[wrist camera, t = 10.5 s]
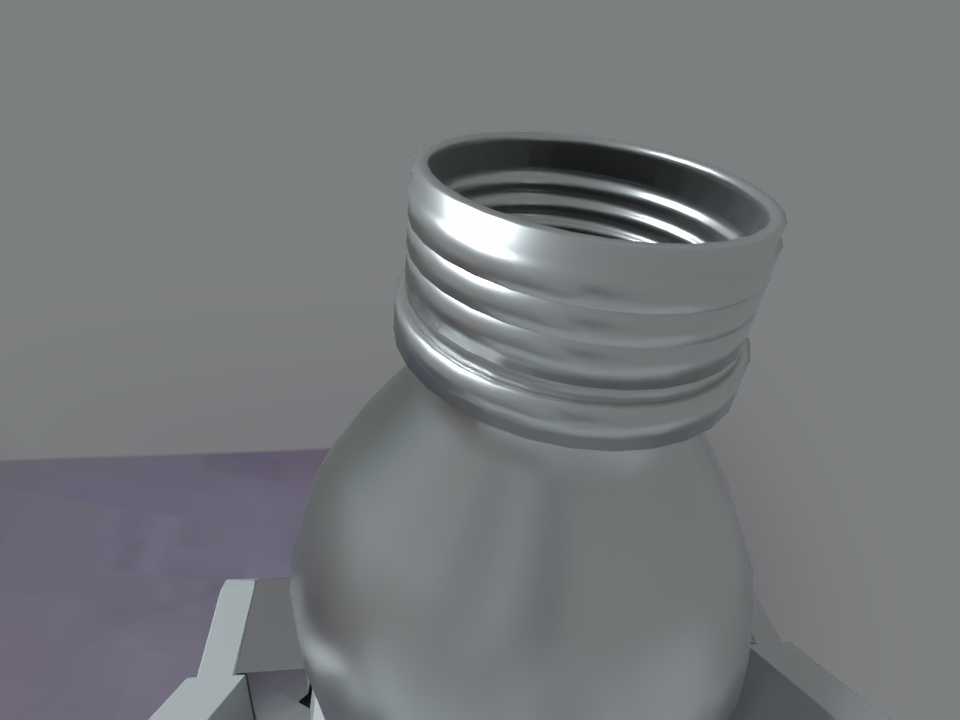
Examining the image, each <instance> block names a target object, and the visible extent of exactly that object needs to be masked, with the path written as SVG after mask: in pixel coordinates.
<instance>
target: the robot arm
mask: <svg viewBox="0 0 960 720" xmlns="http://www.w3.org/2000/svg"><path fill="white" fill-rule="evenodd" d="M753 597H754V609H753V620H752V631H751V642H750V654H749V661H748V665H747V669H746V674H745V678H744V682H743V686H742V690H741V694H740V698H739V702H738V704H737V705H736V707H735V709H734V711H733V712H732V714H731V716H730V718H729V720H890V719H889V718H887V717H886V716H885V715H883V714H882V713H881V712H880V711H878V710H877V709H876V708H874V707H873V706H872V705H871V704H869V703H868V702H867V701H865V700H864V699H863V698H861V697H860V696H859V695H858V694H857V693H855V692H854V691H853V690H851V689H850V688H849V687H847V686H846V685H845V684H843V683H842V682H841V681H840V680H839V679H837V678H836V677H835V676H834V675H832V674H831V673H830V672H828V671H827V670H826V669H824V668H823V667H822V666H821V665H819V664H818V663H817V662H816V661H814V660H813V659H812V658H810V657H809V656H807V654H805V653H804V652H803V651H802V650H800V649H799V648H798V647H796V646H795V645H794V644H792V643H791V642H783V641H782V640H781V638H780V636H779V634H778V633H777V631H776V629H775V628H774V626H773V624H772V622H771V620H770V619H769V617H768V616H767V614H766V612H765V610H764V609H763V607H762V605H761V603H760V601H759V600H758V598H757V596H756V594H755V593H754V591H753ZM315 697H316V696H315V693H314V691H313V688H312V686H311V684H310V681H309V679H308V676H307V674H306V671H305V666H304V661H303V656H302V651H301V647H300V643H299V640H298V636H297V630H296V624H295V619H294V613H293V607H292V601H291V595H290V578H273V579H231V580H226V581H225V583H224V585H223V587H222V589H221V591H220V595H219V598H218V602H217V606H216V609H215V613H214V617H213V620H212V624H211V628H210V631H209V635H208V639H207V642H206V646H205V650H204V653H203V657H202V661H201V664H200V668H199V672H198V675H197V677H192V678H187V679H186V680H185V681H184V682H183V683H182V684H181V685H180V686H179V687H178V688H177V689H176V691H175V692H174V693H173V694H172V695H171V696H170V697H169V698H168V699H167V700H166V701H165V702H164V703H163V705H162V706H161V707H160V708H159V709H158V710H157V711H156V712H155V713H154V714H153V715H152V716H151V717H150V719H149V720H313V715H314V706H315Z"/></svg>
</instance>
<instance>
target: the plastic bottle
mask: <svg viewBox="0 0 960 720" xmlns="http://www.w3.org/2000/svg"><path fill="white" fill-rule="evenodd" d="M786 224H787V220H786V214H785V211H784V209H783V208H782V207H781V206H780V205H779V203H778V202H777V201H776V200H775V199H774V198H773V197H771V196H770V195H769V194H767V193H766V192H765V191H763V190H762V189H761V188H759V187H757V186H755V185H753V184H752V183H750V182H748V181H746V180H744V179H742V178H740V177H738V176H736V175H733V174H731V173H729V172H727V171H724V170H722V169H719V168H717V167H714V166H711V165H708V164H706V163H703V162H700V161H697V160H694V159H691V158H688V157H684V156H681V155H677V154H674V153H671V152H667V151H663V150H659V149H655V148H651V147H647V146H642V145H638V144H633V143H628V142H623V141H618V140H612V139H607V138H600V137H594V136H587V135H580V134H570V133H561V132H550V131H533V130H489V131H475V132H467V133H459V134H454V135H450V136H446V137H442V138H438V139H436V140H434V141H431V142H429V143H427V144H425V145H424V146H423V147H421V148H420V149H419V150H418V151H417V152H416V154H415V158H414V161H413V172H412V173H411V176H410V180H409V183H408V214H407V239H406V264H405V269H404V270H403V272H402V273H401V275H400V276H399V278H398V282H397V286H396V290H395V304H394V333H395V339H396V345H397V348H398V350H399V352H400V354H401V356H402V357H403V359H404V361H405V363H406V365H404V366H403V367H402V368H401V369H400V370H399V371H398V372H397V373H396V374H395V375H394V376H393V377H392V378H391V379H390V380H388V381H387V382H386V383H385V384H384V385H383V386H382V387H381V388H380V389H379V390H378V392H377V393H376V394H375V395H374V396H373V397H372V398H371V399H370V400H369V401H368V402H367V403H366V405H365V406H364V407H363V408H362V409H361V411H360V412H359V413H358V414H357V416H356V417H355V418H354V419H353V421H352V422H351V423H350V424H349V426H348V427H347V428H346V429H345V430H344V432H343V433H342V434H341V436H340V437H339V438H338V439H337V440H336V442H335V443H334V444H333V446H332V448H331V449H330V451H329V453H328V454H327V456H326V458H325V459H324V461H323V463H322V464H321V466H320V468H319V469H318V471H317V474H316V477H315V480H314V483H313V486H312V489H311V492H310V495H309V498H308V501H307V504H306V507H305V510H304V513H303V516H302V520H301V523H300V526H299V529H298V533H297V536H296V539H295V542H294V546H293V549H292V563H291V578H290V595H291V601H292V607H293V613H294V619H295V624H296V630H297V636H298V640H299V643H300V647H301V651H302V656H303V661H304V666H305V671H306V674H307V676H308V679H309V681H310V684H311V686H312V688H313V691H314V693H315V696H316V698H317V700H318V703H319V706H320V708H321V711H322V713H323V716H324V718H325V720H729V718H730V716H731V714H732V712H733V711H734V709H735V707H736V705H737V704H738V702H739V698H740V694H741V690H742V686H743V682H744V678H745V674H746V669H747V665H748V661H749V654H750V642H751V631H752V620H753V609H754V597H753V567H752V563H751V559H750V555H749V551H748V548H747V544H746V540H745V536H744V532H743V529H742V526H741V523H740V520H739V516H738V513H737V510H736V507H735V504H734V501H733V497H732V494H731V491H730V487H729V484H728V481H727V478H726V476H725V474H724V472H723V469H722V467H721V465H720V463H719V461H718V459H717V456H716V454H715V452H714V450H713V448H712V446H711V444H710V442H709V439H708V437H707V435H706V433H705V431H707V430H709V429H711V428H712V427H713V426H714V425H715V424H716V423H717V422H718V421H719V420H720V419H721V418H723V417H724V416H725V415H726V414H727V413H728V411H729V409H730V407H731V405H732V402H733V400H734V398H735V396H736V394H737V391H738V389H739V386H740V384H741V381H742V379H743V376H744V374H745V371H746V369H747V366H748V364H749V361H750V343H749V339H748V337H747V336H748V333H749V331H750V328H751V326H752V323H753V321H754V318H755V315H756V313H757V310H758V308H759V305H760V302H761V300H762V297H763V295H764V292H765V289H766V287H767V284H768V282H769V280H770V277H771V274H772V272H773V269H774V267H775V264H776V262H777V259H778V257H779V254H780V252H781V249H782V247H783V244H782V237H781V235H782V233H783V231H784V228H785V226H786Z"/></svg>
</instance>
